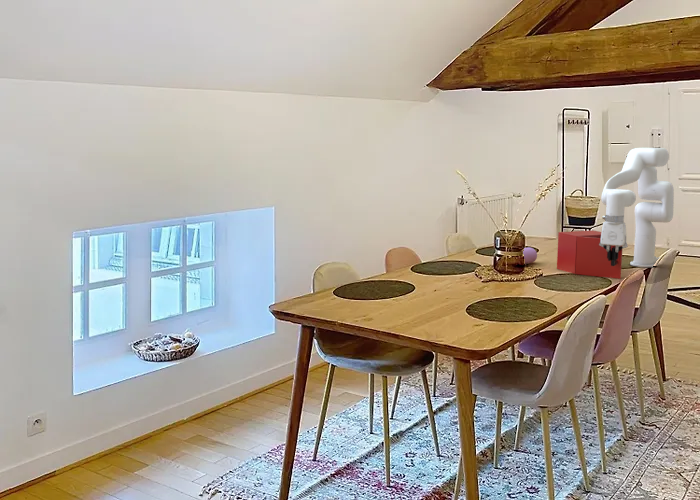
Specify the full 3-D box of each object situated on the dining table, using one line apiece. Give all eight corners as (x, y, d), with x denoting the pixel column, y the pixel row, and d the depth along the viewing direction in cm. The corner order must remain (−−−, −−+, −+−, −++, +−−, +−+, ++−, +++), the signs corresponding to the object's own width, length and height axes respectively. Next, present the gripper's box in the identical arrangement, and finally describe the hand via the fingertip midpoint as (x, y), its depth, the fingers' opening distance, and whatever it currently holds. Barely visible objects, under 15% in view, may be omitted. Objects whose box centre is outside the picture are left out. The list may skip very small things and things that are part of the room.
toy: (524, 262, 366) (506, 266, 351) (525, 246, 366) (507, 248, 350) (539, 264, 362) (521, 267, 346) (540, 247, 361) (523, 250, 345)
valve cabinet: (609, 271, 339) (612, 233, 336) (574, 274, 332) (576, 236, 329) (590, 266, 352) (592, 230, 349) (556, 268, 345) (558, 232, 343)
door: (617, 281, 315) (619, 241, 313) (571, 276, 326) (573, 238, 323) (620, 278, 321) (623, 239, 319) (576, 273, 332) (577, 236, 329)
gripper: (594, 219, 313) (592, 260, 316) (631, 221, 305) (629, 263, 308) (598, 217, 319) (596, 257, 322) (635, 219, 311) (632, 260, 314)
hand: (612, 260), depth 315 cm, fingers closed on door
